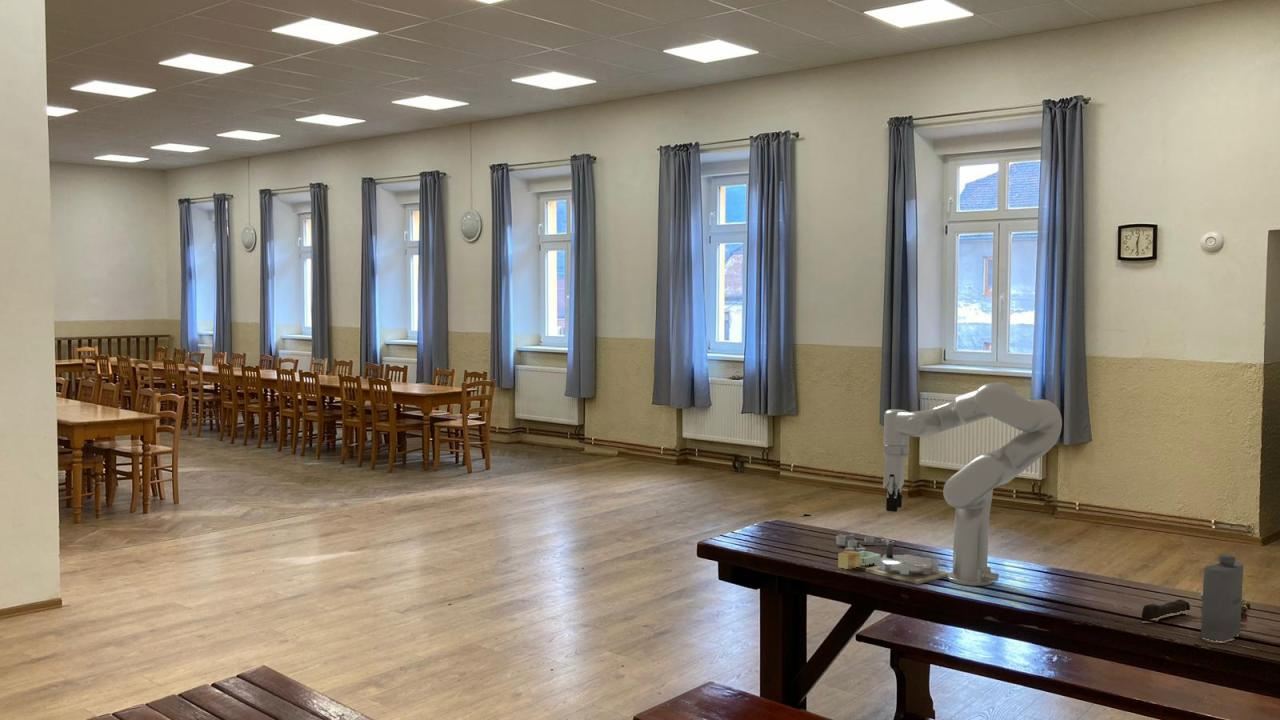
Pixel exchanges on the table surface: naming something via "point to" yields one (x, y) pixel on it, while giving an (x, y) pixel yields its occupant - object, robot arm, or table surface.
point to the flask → (1222, 599)
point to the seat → (868, 557)
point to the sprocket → (905, 563)
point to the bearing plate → (908, 575)
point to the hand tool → (1163, 609)
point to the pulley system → (852, 543)
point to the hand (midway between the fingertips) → (893, 508)
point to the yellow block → (848, 559)
